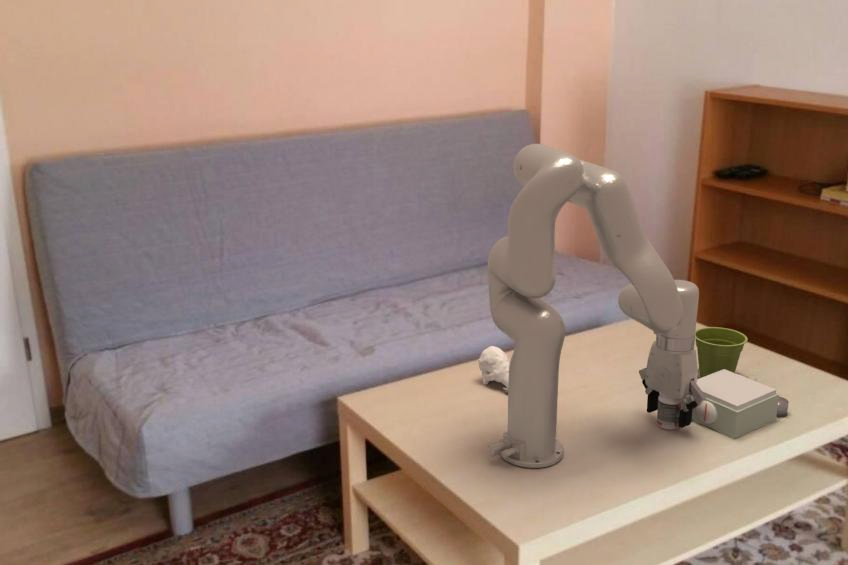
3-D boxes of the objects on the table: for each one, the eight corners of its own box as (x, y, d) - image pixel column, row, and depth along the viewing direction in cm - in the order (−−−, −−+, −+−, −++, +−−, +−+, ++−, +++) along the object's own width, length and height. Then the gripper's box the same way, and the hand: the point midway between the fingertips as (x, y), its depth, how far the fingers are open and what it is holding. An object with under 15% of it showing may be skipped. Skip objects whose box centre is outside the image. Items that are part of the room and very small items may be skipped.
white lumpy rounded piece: (498, 340, 208) (531, 361, 199) (495, 372, 211) (528, 394, 202) (476, 346, 204) (509, 368, 195) (474, 379, 208) (506, 401, 199)
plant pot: (753, 383, 204) (758, 337, 201) (720, 396, 198) (725, 350, 195) (711, 366, 214) (715, 322, 210) (678, 378, 207) (682, 333, 204)
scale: (732, 439, 179) (735, 408, 177) (677, 414, 190) (679, 384, 188) (775, 420, 187) (779, 389, 185) (720, 396, 198) (723, 367, 196)
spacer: (778, 419, 187) (780, 407, 187) (760, 412, 191) (762, 399, 190) (791, 414, 190) (792, 401, 189) (773, 406, 193) (774, 394, 192)
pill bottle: (680, 431, 183) (683, 394, 180) (656, 429, 184) (659, 392, 181) (678, 420, 187) (682, 384, 185) (655, 418, 188) (658, 382, 186)
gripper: (630, 331, 184) (624, 408, 190) (698, 358, 171) (690, 440, 176) (654, 324, 188) (648, 398, 194) (722, 349, 175) (714, 429, 180)
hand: (668, 418), depth 185 cm, fingers open, 7 cm apart
